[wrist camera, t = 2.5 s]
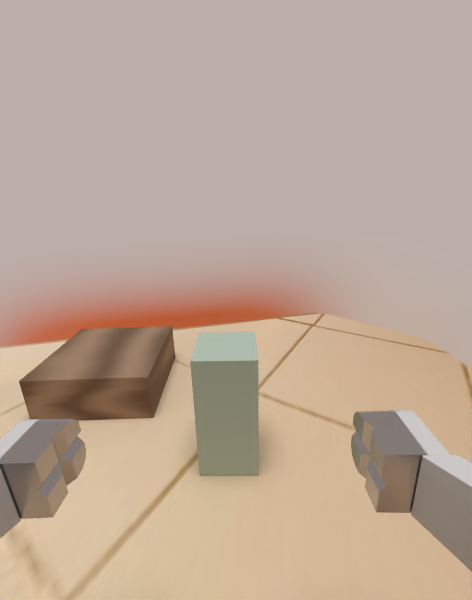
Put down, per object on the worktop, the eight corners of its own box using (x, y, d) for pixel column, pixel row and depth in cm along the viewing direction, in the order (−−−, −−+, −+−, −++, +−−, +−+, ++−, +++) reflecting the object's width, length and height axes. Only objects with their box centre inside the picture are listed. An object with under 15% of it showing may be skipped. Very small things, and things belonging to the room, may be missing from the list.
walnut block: (32, 424, 28) (19, 381, 27) (88, 362, 40) (81, 329, 38) (153, 420, 29) (147, 377, 27) (175, 359, 40) (172, 326, 38)
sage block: (199, 475, 22) (190, 361, 19) (206, 432, 26) (199, 332, 23) (258, 475, 22) (258, 360, 19) (255, 431, 26) (255, 331, 23)
